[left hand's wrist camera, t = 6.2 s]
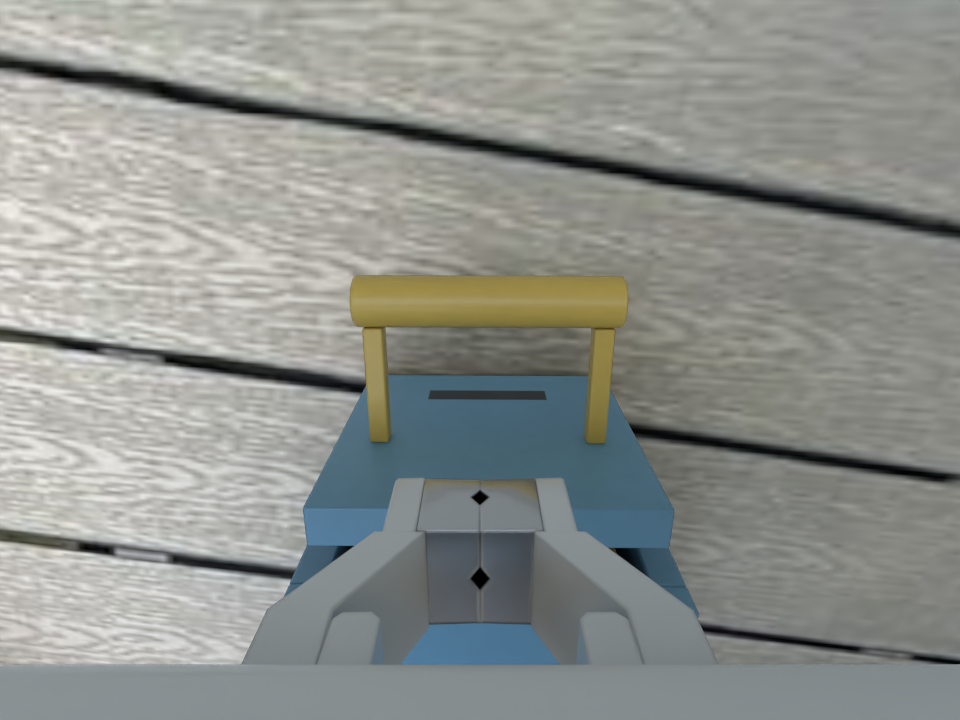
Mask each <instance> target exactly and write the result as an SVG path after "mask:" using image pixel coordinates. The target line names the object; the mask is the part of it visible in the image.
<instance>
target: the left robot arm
mask: <svg viewBox="0 0 960 720" xmlns="http://www.w3.org/2000/svg"><path fill="white" fill-rule="evenodd" d="M472 623H487V624H522V625H531V628H532V629H533V630H534V632H535V633H536V634H537V636H538V637H539V638H540V639H541V641H542V642H543V643H544V645H545V646H546V647H547V648H548V650H549V651H550V652H551V654H552V655H553V656H554V658H555V659H556V660H557V661H558V663H559V664H560V665H400V664H401V663H402V662H403V661H404V659H405V658H406V657H407V655H408V654H409V653H410V652H411V650H412V649H413V648H414V646H415V645H416V644H417V642H418V641H419V640H420V639H421V637H422V636H423V635H424V633H425V632H426V631H427V630H428V628H429V625H437V624H472ZM0 720H960V665H719V664H718V662H717V660H716V658H715V656H714V653H713V651H712V649H711V647H710V645H709V643H708V641H707V638H706V636H705V634H704V632H703V630H702V628H701V625H700V623H699V621H698V619H697V617H696V615H695V613H694V610H692V609H691V608H690V607H688V606H687V605H685V604H684V603H683V602H681V601H680V600H679V599H677V598H676V597H675V596H673V595H672V594H670V593H669V592H668V591H666V590H665V589H664V588H662V587H661V586H659V585H658V584H657V583H655V582H654V581H653V580H651V579H650V578H649V577H647V576H646V575H644V574H643V573H642V572H640V571H639V570H638V569H636V568H635V567H634V566H632V565H631V564H629V563H628V562H627V561H625V560H624V559H623V558H621V557H620V556H618V555H617V554H616V553H614V552H613V551H612V550H610V549H609V548H608V547H606V546H605V545H603V544H602V543H601V542H599V541H598V540H597V539H595V538H594V537H593V536H591V535H590V534H588V533H587V532H585V531H577V527H576V523H575V519H574V516H573V512H572V508H571V504H570V501H569V497H568V493H567V489H566V485H565V482H564V479H562V478H561V477H559V478H532V479H492V480H480V479H450V478H426V479H425V478H398V479H397V480H396V481H395V485H394V489H393V492H392V496H391V500H390V504H389V508H388V512H387V515H386V519H385V523H384V527H383V531H375V532H373V533H372V534H370V535H369V536H367V537H366V538H365V539H363V540H362V541H361V542H359V543H358V544H357V545H355V546H354V547H352V548H351V549H350V550H348V551H347V552H346V553H344V554H343V555H341V556H340V557H339V558H337V559H336V560H335V561H333V562H332V563H330V564H329V565H328V566H326V567H325V568H324V569H322V570H321V571H319V572H318V573H317V574H315V575H314V576H313V577H311V578H310V579H308V580H307V581H306V582H304V583H303V584H302V585H300V586H299V587H297V588H296V589H295V590H293V591H292V592H291V593H289V594H288V595H286V596H285V597H284V598H282V599H281V600H280V601H278V602H277V603H275V604H274V605H273V606H271V607H270V608H269V609H267V611H266V613H265V615H264V617H263V620H262V622H261V624H260V626H259V628H258V630H257V632H256V634H255V637H254V639H253V641H252V643H251V645H250V647H249V649H248V651H247V653H246V656H245V658H244V660H243V662H242V664H241V665H0Z"/></svg>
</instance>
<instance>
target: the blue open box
mask: <svg viewBox="0 0 960 720" xmlns="http://www.w3.org/2000/svg"><path fill="white" fill-rule="evenodd" d="M352 547H354V546H309V545H308V544H307V547H306V549H305V551H304V553H303V555H302V558H301V560H300V562H299V564H298V566H297V568H296V571H295V573H294V575H293V577H292V579H291V582H290V585H289V587H288V589H287V591H286V594H285V596H286V595H288V594H289V593H291V592H292V591H293V590H295V589H296V588H297V587H299V586H300V585H302V584H303V583H304V582H306V581H307V580H308V579H310V578H311V577H313V576H314V575H315V574H317V573H318V572H319V571H321V570H322V569H324V568H325V567H326V566H328V565H329V564H330V563H332V562H333V561H335V560H336V559H337V558H339V557H340V556H341V555H343V554H344V553H346V552H347V551H348V550H350V549H351V548H352ZM615 550H616V553H617V555H618V556H620V557H621V558H623V559H624V560H625V561H627V562H628V563H629V564H631V565H632V566H634V567H635V568H636V569H638V570H639V571H640V572H642V573H643V574H644V575H646V576H647V577H649V578H650V579H651V580H653V581H654V582H655V583H657V584H658V585H659V586H661V587H662V588H664V589H665V590H666V591H668V592H669V593H670V594H672V595H673V596H675V597H676V598H677V599H679V600H680V601H681V602H683V603H684V604H685V605H687V606H688V607H690V608H691V609H692V610H694V613H695V615H696V617H697V619H698V614H699V613H698V611H697V609H696V606H695V604H694V602H693V600H692V598H691V596H690V594H689V591H688V589H687V588H686V585H685V583H684V581H683V578H682V576H681V574H680V572H679V570H678V568H677V566H676V563H675V561H674V559H673V557H672V555H671V553H670V550H669V548H615ZM285 596H284V597H285ZM400 665H560V664H559V663H558V661H557V660H556V659H555V658H554V656H553V655H552V654H551V652H550V651H549V650H548V648H547V647H546V646H545V645H544V643H543V642H542V641H541V639H540V638H539V637H538V636H537V634H536V633H535V632H534V630H533V629H532V628H531V625H522V624H487V623H472V624H437V625H429V628H428V630H427V631H426V632H425V633H424V635H423V636H422V637H421V639H420V640H419V641H418V642H417V644H416V645H415V646H414V648H413V649H412V650H411V652H410V653H409V654H408V655H407V657H406V658H405V659H404V661H403V662H402V663H401V664H400Z"/></svg>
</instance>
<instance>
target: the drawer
mask: <svg viewBox="0 0 960 720" xmlns="http://www.w3.org/2000/svg"><path fill="white" fill-rule="evenodd" d="M350 311H351V317H352V320H353V323H354V325H355V326H357V327H364V328H363V330H362V333H363V347H364V361H365V375H366V387H365V389H364V391H363V393H362V395H361V396H360V398H359V400H358V402H357V404H356V406H355V408H354V410H353V412H352V414H351V416H350V418H349V420H348V422H347V424H346V426H345V428H344V429H343V431H342V433H341V435H340V437H339V439H338V441H337V443H336V445H335V447H334V449H333V451H332V453H331V455H330V457H329V459H328V460H327V462H326V464H325V466H324V468H323V470H322V472H321V474H320V476H319V478H318V480H317V482H316V484H315V486H314V488H313V490H312V492H311V493H310V495H309V497H308V499H307V501H306V503H305V505H304V507H303V513H304V521H305V529H306V538H307V544H308V545H309V546H355V545H357V544H358V543H359V542H361V541H362V540H363V539H365V538H366V537H367V536H369V535H370V534H372V533H373V532H375V531H383V527H384V523H385V519H386V515H387V512H388V508H389V504H390V500H391V496H392V492H393V489H394V485H395V481H396V480H397V479H398V478H425V479H426V478H450V479H480V480H492V479H532V478H559V477H561V478H562V479H564V482H565V485H566V489H567V493H568V497H569V501H570V504H571V508H572V512H573V516H574V519H575V523H576V527H577V531H585V532H587V533H588V534H590V535H591V536H593V537H594V538H595V539H597V540H598V541H599V542H601V543H602V544H603V545H605V546H606V547H608V548H609V549H610V550H612V551H613V552H614V553H616V550H615V548H669V546H670V539H671V532H672V524H673V517H674V509H673V507H672V505H671V503H670V501H669V500H668V498H667V496H666V494H665V492H664V490H663V488H662V486H661V484H660V483H659V481H658V479H657V477H656V475H655V473H654V471H653V469H652V467H651V465H650V464H649V462H648V460H647V458H646V456H645V454H644V452H643V450H642V448H641V447H640V445H639V443H638V441H637V439H636V437H635V435H634V433H633V431H632V430H631V428H630V426H629V424H628V422H627V420H626V418H625V416H624V414H623V413H622V411H621V409H620V407H619V405H618V403H617V401H616V399H615V397H614V396H613V394H612V392H611V390H610V385H611V374H612V362H613V351H614V339H615V330H614V328H620V327H622V326H623V325H624V323H625V320H626V317H627V311H628V288H627V284H626V280H625V278H624V277H622V276H415V275H357V276H355V277H354V278H353V280H352V283H351V288H350ZM385 327H501V328H592V330H591V344H590V358H589V372H588V376H462V375H388V365H387V348H386V330H385ZM616 554H617V553H616Z"/></svg>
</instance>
